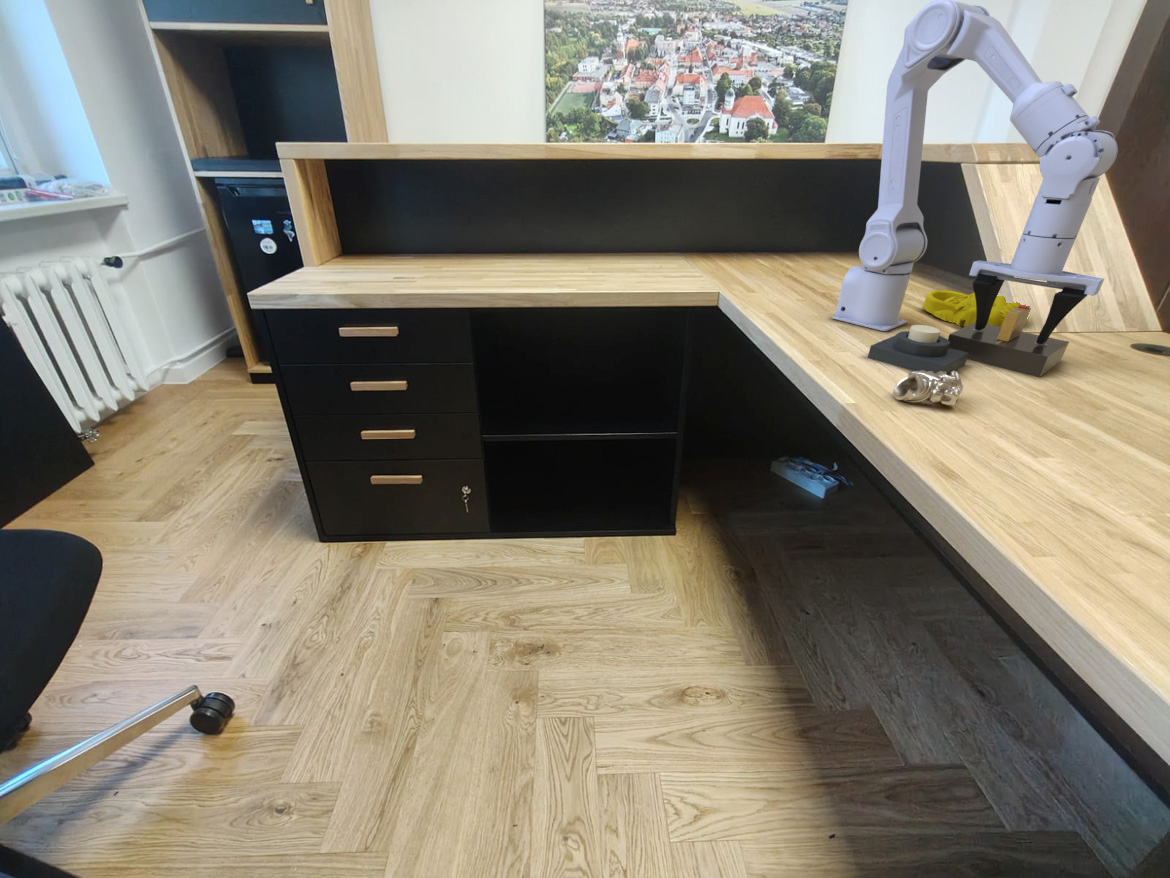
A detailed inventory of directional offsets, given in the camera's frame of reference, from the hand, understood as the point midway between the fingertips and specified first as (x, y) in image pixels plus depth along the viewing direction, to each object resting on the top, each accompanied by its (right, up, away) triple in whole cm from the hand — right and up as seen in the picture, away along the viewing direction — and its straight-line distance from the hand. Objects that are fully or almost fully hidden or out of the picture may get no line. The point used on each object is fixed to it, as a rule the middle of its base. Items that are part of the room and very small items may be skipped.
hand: (1009, 335), depth 79 cm
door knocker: (+9, +7, +21) cm, 24 cm away
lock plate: (0, -3, +2) cm, 3 cm away
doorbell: (-14, -4, 0) cm, 14 cm away
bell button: (-14, -1, -2) cm, 14 cm away
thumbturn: (0, 0, 0) cm, 0 cm away
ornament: (-19, -10, -12) cm, 25 cm away
